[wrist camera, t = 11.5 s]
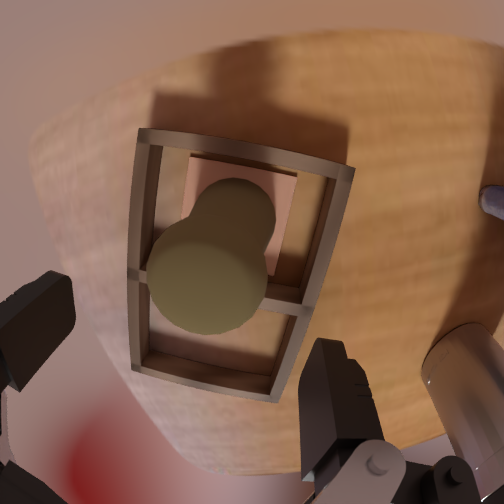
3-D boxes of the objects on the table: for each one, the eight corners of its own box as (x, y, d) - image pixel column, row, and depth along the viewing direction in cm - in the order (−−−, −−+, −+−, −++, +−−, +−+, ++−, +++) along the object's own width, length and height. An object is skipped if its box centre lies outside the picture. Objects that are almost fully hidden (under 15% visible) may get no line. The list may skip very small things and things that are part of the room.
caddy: (346, 164, 19) (355, 168, 17) (278, 384, 27) (277, 403, 25) (153, 128, 19) (138, 128, 17) (140, 353, 27) (131, 370, 25)
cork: (190, 178, 20) (114, 218, 10) (277, 177, 20) (281, 218, 10) (195, 257, 22) (139, 348, 12) (275, 259, 22) (274, 360, 12)
